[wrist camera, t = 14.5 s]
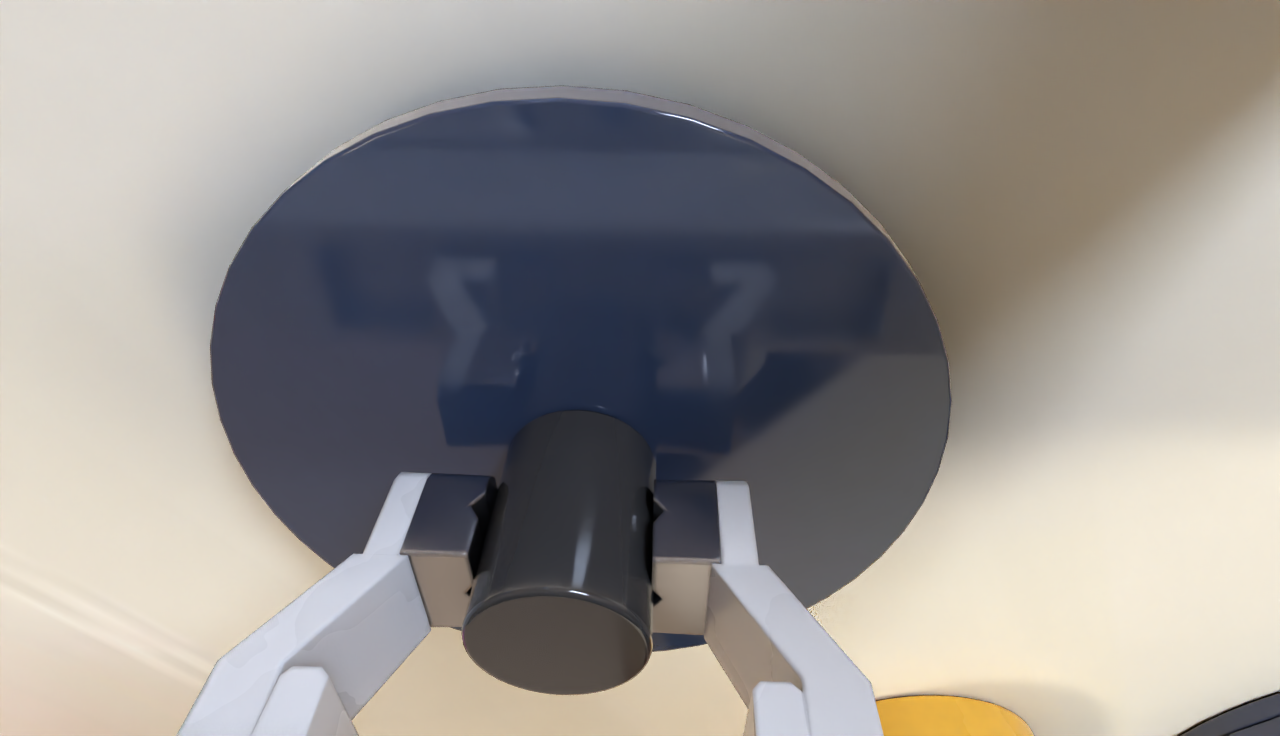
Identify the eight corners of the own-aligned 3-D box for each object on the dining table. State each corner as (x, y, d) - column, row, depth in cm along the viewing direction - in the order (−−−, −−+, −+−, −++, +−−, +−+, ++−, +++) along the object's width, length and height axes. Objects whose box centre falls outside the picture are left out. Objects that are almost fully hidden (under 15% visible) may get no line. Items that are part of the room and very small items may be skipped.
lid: (114, 66, 9) (-244, 216, 6) (1036, 77, 9) (1288, 244, 5) (346, 600, 17) (256, 815, 13) (855, 615, 17) (909, 840, 13)
